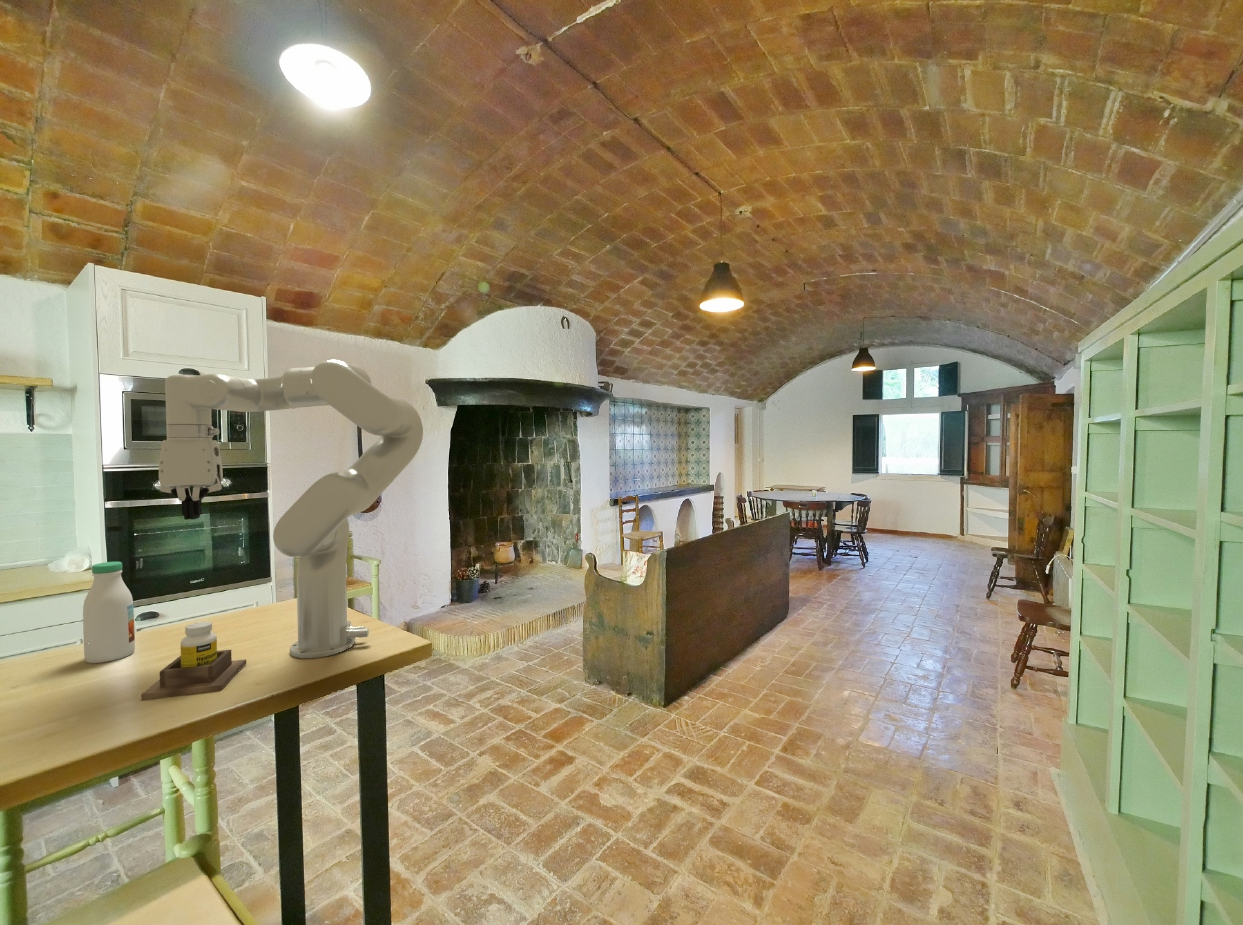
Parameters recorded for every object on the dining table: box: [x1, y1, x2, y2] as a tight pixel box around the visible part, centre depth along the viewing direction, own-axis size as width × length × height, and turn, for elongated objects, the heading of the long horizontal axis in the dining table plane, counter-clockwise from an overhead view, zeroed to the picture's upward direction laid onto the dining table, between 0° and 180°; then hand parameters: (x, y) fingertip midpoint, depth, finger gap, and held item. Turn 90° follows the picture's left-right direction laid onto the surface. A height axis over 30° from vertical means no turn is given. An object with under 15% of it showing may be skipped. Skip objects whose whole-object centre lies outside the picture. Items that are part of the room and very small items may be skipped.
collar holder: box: [140, 649, 247, 701], centre depth 100 cm, size 12×12×4 cm
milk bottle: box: [82, 561, 136, 664], centre depth 111 cm, size 8×8×20 cm
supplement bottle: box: [180, 620, 218, 668], centre depth 100 cm, size 5×5×10 cm
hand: (192, 518), depth 113 cm, fingers closed
